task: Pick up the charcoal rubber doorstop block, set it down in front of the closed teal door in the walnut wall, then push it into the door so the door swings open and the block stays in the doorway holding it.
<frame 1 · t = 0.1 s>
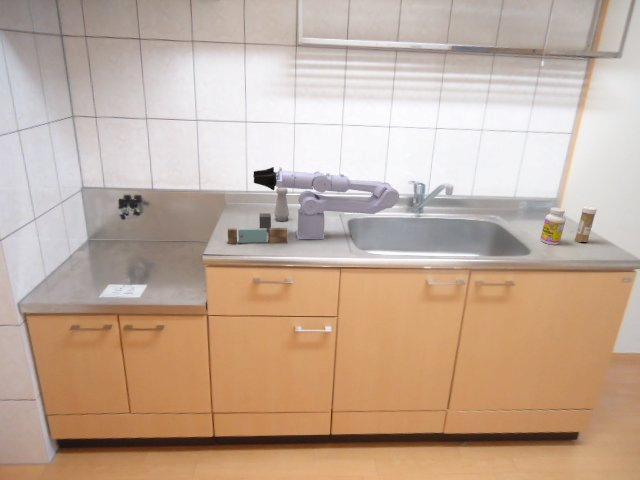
hand: (253, 176, 153), 22 cm above the counter, tool horizontal, fingers open, 7 cm apart
salt shaker: (281, 220, 179), on the counter
doorstop block: (265, 230, 167), on the counter
supplement bottle: (549, 242, 169), on the counter
sprinkles bottle: (580, 241, 171), on the counter
wall: (257, 242, 155), on the counter
door: (252, 235, 154), point 3 cm above the counter, hinge at 0.0°
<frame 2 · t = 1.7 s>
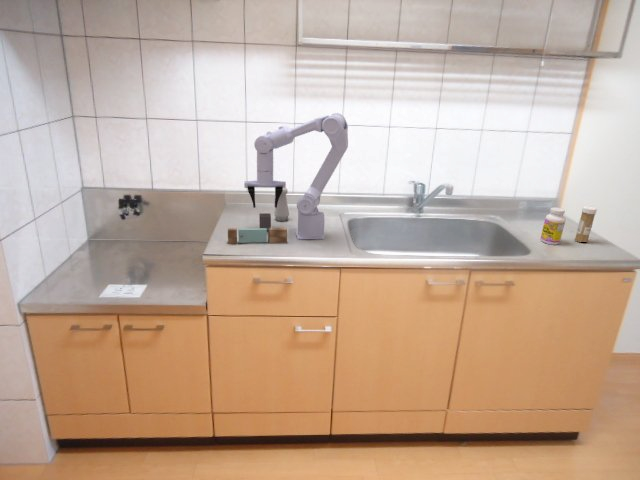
hand: (265, 206, 163), 9 cm above the counter, tool pointing down, fingers open, 7 cm apart
nothing on the counter moved.
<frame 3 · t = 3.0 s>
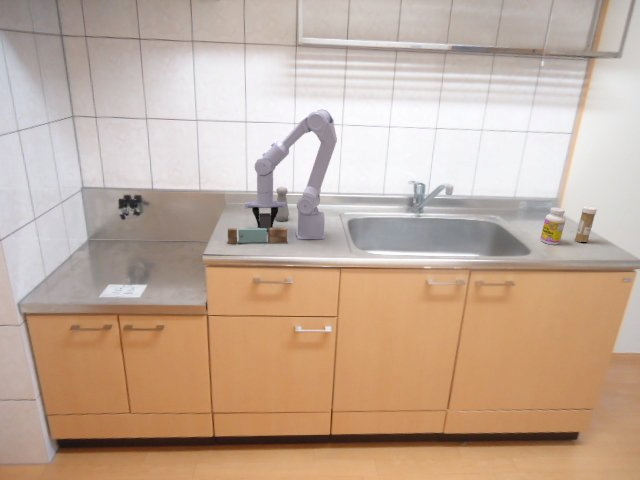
hand: (265, 226, 166), 1 cm above the counter, tool pointing down, fingers closed on doorstop block, 4 cm apart
doorstop block: (265, 230, 167), on the counter, touching gripper
everything else where it was.
when the fingers open (2 cm above the counter, at t = 6.5 s): doorstop block stays where it is, on the counter.
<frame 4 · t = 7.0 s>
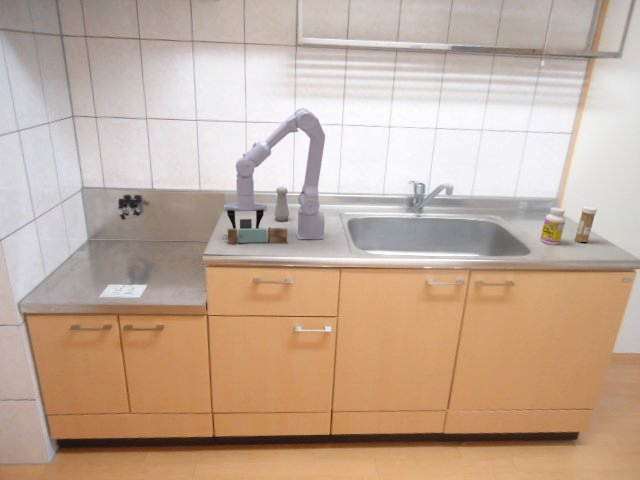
hand: (245, 230, 159), 2 cm above the counter, tool pointing down, fingers open, 7 cm apart
doorstop block: (246, 237, 160), on the counter
everything else where it was.
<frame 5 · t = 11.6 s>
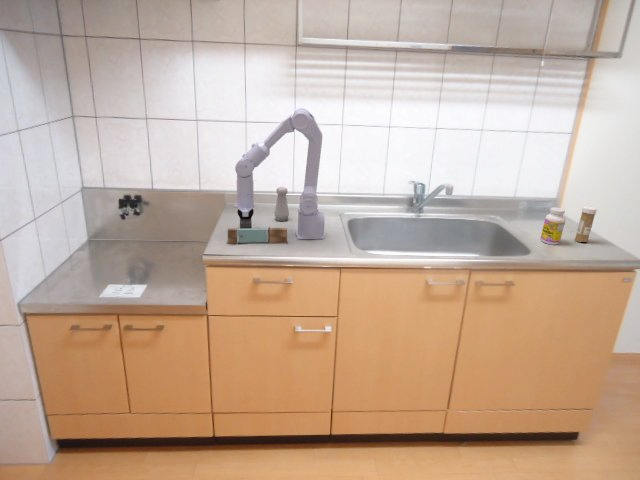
hand: (245, 229, 163), 1 cm above the counter, tool pointing down, fingers closed
doorstop block: (245, 236, 160), on the counter, touching gripper
everything else where it was.
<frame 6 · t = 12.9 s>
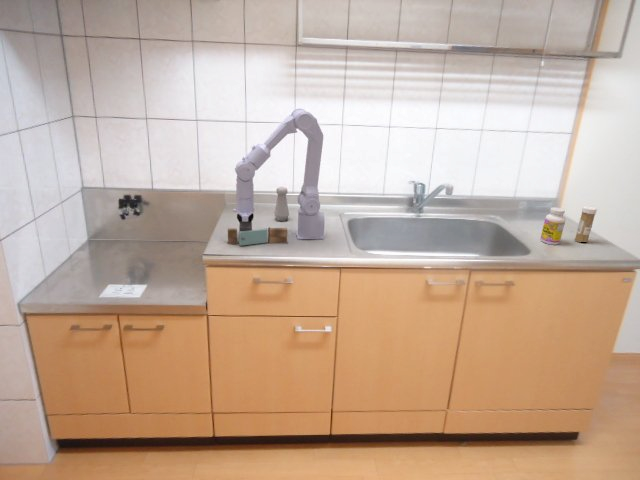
hand: (245, 234, 158), 2 cm above the counter, tool pointing down, fingers closed, pressing on doorstop block
doorstop block: (244, 238, 156), point 1 cm above the counter, tilted 15°, touching door, gripper
door: (253, 237, 152), point 3 cm above the counter, hinge at 16.1°, touching doorstop block
everything else where it was.
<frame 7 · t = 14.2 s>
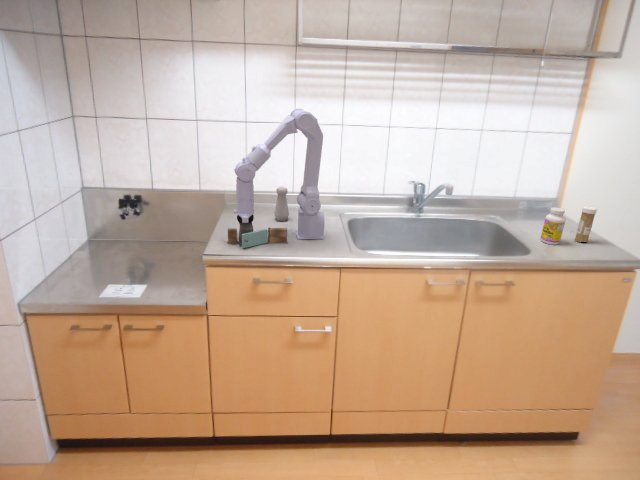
hand: (245, 235, 157), 2 cm above the counter, tool pointing down, fingers closed
doorstop block: (244, 241, 155), point 1 cm above the counter, tilted 14°, touching door, gripper
door: (255, 238, 151), point 3 cm above the counter, hinge at 30.5°, touching doorstop block
everything else where it was.
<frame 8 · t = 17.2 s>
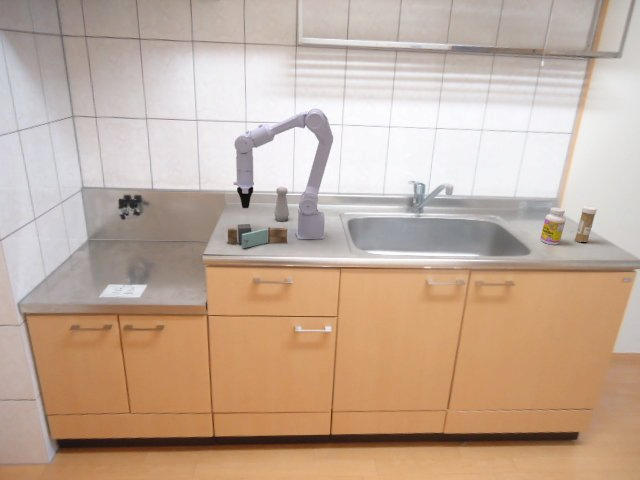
hand: (245, 207, 160), 9 cm above the counter, tool pointing down, fingers closed
doorstop block: (244, 242, 155), on the counter
door: (255, 238, 151), point 3 cm above the counter, hinge at 30.8°
everything else where it was.
at the end: door at +31° (first picture: +0°); doorstop block inside the target area (1.0 cm from its centre), on the counter; doorstop block tilted 0° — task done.
